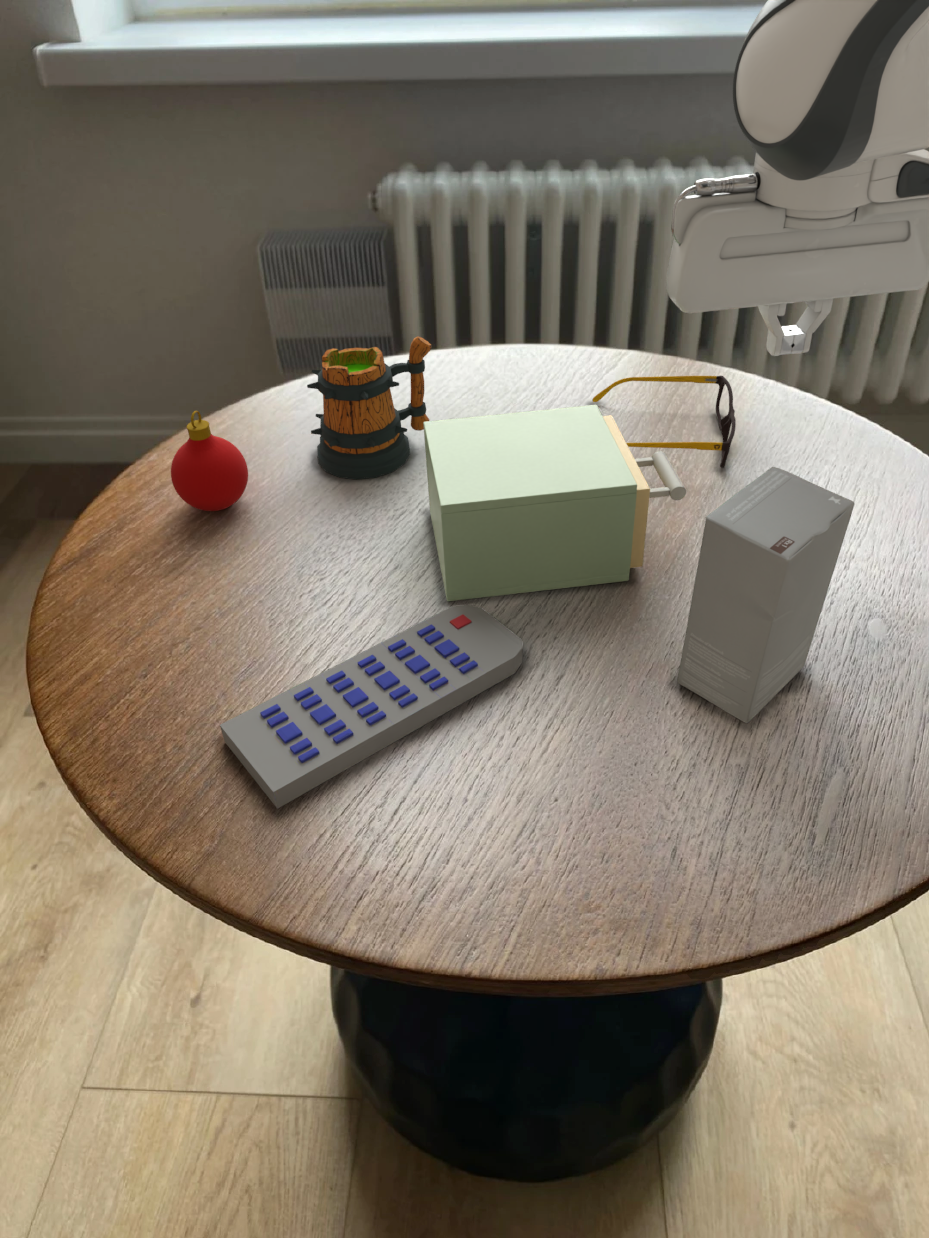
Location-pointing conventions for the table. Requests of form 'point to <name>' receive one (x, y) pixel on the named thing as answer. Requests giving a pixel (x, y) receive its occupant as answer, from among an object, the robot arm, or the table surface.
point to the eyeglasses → (725, 421)
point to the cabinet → (529, 502)
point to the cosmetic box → (760, 589)
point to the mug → (366, 410)
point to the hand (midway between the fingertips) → (786, 351)
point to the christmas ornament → (208, 469)
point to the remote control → (371, 700)
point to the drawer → (645, 488)
